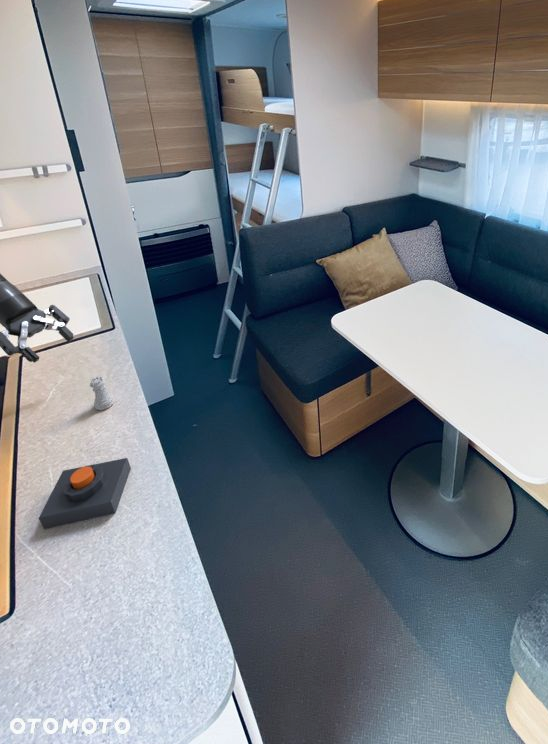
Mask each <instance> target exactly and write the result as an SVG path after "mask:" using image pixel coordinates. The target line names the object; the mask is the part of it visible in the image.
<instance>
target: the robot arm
mask: <svg viewBox="0 0 548 744" xmlns="http://www.w3.org/2000/svg"><path fill="white" fill-rule="evenodd" d="M47 316H48V317H52V318H48V317H47ZM53 318H54V319H53ZM69 322H70V317H69V316H68V315H67V314H65V312H63V311H62V310H61V309H60V308H59V307H57V306H56V305H55V304H50V305H49V307H47V308H46V309H44V310H41V309H39V308H38V307H37V306H36V304H35V303H33V302H32V300H31V299H29V298H28V297H27V295H25V294H24V293H23V292H22V291H21V290H20V289H19V288H18V287H17V286H16V285H14V284H13V283H11V282H10V281H9V280H8V279H7V278H6V277H5V276H4V275H3V274H2V273H1V272H0V325H1V326H2V327H4V328H5V330H2V331H0V349H1V350H2V351H3V352H4V353H5V354H6V355H7V356H8V357H11V356H13V355H16V354H20V355H21V356H22V357H24V358H25V360H27V362H30V363H32V362H33V363H34V364H36V363H37V362H38V361H39V359H40V356H39V355H38V354H37V353H36V352H35V351H34V350H33V349H32V348H31V347H30V346H27V339H28V338H30V339H31V338H32V337H33V336H35V335H36V334H40V333H41V332H43V330H46V331H57V332H58V334H59V335H60V336H61V337H62V338H63V339H64V340H65V341H66V342H68V343H70V342H72V341H73V340H74V333H73V332H72V331H71V330H70V329H69V328H68V327H67V325H68V323H69ZM9 335H10V336H15V337H17V342H16V343H17V345H16V346H15V345H14V344H13V343H12V342H11V341H10V339H9Z"/></svg>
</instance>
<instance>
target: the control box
mask: <svg viewBox="0 0 548 744" xmlns="http://www.w3.org/2000/svg"><path fill="white" fill-rule="evenodd" d="M87 466H88V467H91V468H92V470H93V472H94V475H95V477H94V480H93V481H92V482H91V483H90V484H89V485H88V486H86V487H84V488H82V489H74V488H73V486H72V484H71V481H70V478H71V476H72V474H73V473H74V472H75V471H77V470H78V469H80V468H82V467H87ZM131 470H132V467H131V465H130V462H129V459H128V457H124V458H119V459H115V460H110V461H105V462H100V463H95V464H88V465H83V466H80V467H75V468H69V469H64V470H62V471H61V474H60V475H59V477H58V479H57V482H56V483H55V485H54V487H53V489H52V491H51V492H50V495H49V497H48V499H47V500H46V503H45V505H44V507H43V508H42V511H41V512H40V515H39V516H38V520H39V522H40V524H41V526H42V528H43V529H44V530H48V529H52V528H57V527H61V526H65V525H69V524H75V523H78V522H82V521H88V520H92V519H96V518H100V517H105V516H110V515H113V514H116V513H117V510H118V508H119V504H120V501H121V498H122V496H123V492H124V489H125V487H126V484H127V481H128V478H129V475H130V473H131Z"/></svg>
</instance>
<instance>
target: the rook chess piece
mask: <svg viewBox="0 0 548 744" xmlns="http://www.w3.org/2000/svg"><path fill="white" fill-rule="evenodd" d="M95 377H96V378H95ZM95 377H93V378H91V380H90V384H89V387H90V388H92V392H94V397H95V398H94V401H93V405H94V409H95V410H98V411H104V410H107V409H109V408H110V407H112V406H113V405H114V403H115V401H116V399H115V397H114V395H113V393H111V392H109V391H108V389H107V388H106V385H107V384H106V383H105V382H106V379H105V378H103V376H95Z"/></svg>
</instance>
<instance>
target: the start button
mask: <svg viewBox="0 0 548 744" xmlns="http://www.w3.org/2000/svg"><path fill="white" fill-rule="evenodd" d="M86 466H87V467H84V466H81V467H82V468H80V469H78V470H77V471H75V472H74V473H73V474H72V476H71V478H70V481H71V484H72V486H73V488H74V489H82V488H84V487H86V486H88V485H89V484H90V483H91V482H92V481H93V480H94V477H95V475H94V472H93V470H92V468H91V467H88V465H86Z"/></svg>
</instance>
